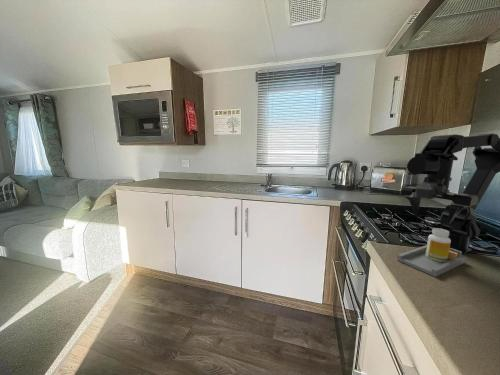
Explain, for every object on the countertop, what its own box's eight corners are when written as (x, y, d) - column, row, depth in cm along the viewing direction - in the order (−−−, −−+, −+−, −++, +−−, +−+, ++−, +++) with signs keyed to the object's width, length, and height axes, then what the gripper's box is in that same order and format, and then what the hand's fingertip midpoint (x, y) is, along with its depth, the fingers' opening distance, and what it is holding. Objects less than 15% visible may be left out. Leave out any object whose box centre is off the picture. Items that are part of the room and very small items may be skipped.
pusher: (428, 250, 72) (429, 243, 71) (456, 260, 65) (457, 253, 65) (426, 251, 71) (428, 244, 71) (454, 261, 65) (456, 253, 64)
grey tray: (426, 249, 74) (428, 240, 73) (464, 262, 65) (466, 253, 65) (397, 260, 66) (398, 250, 66) (435, 276, 57) (437, 265, 57)
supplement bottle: (451, 263, 64) (457, 234, 62) (431, 261, 65) (436, 232, 63) (439, 255, 69) (444, 227, 67) (421, 253, 70) (425, 226, 69)
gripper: (393, 172, 72) (388, 215, 75) (466, 178, 55) (456, 233, 58) (411, 171, 77) (405, 211, 79) (483, 177, 60) (473, 227, 63)
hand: (431, 219), depth 70 cm, fingers open, 9 cm apart
